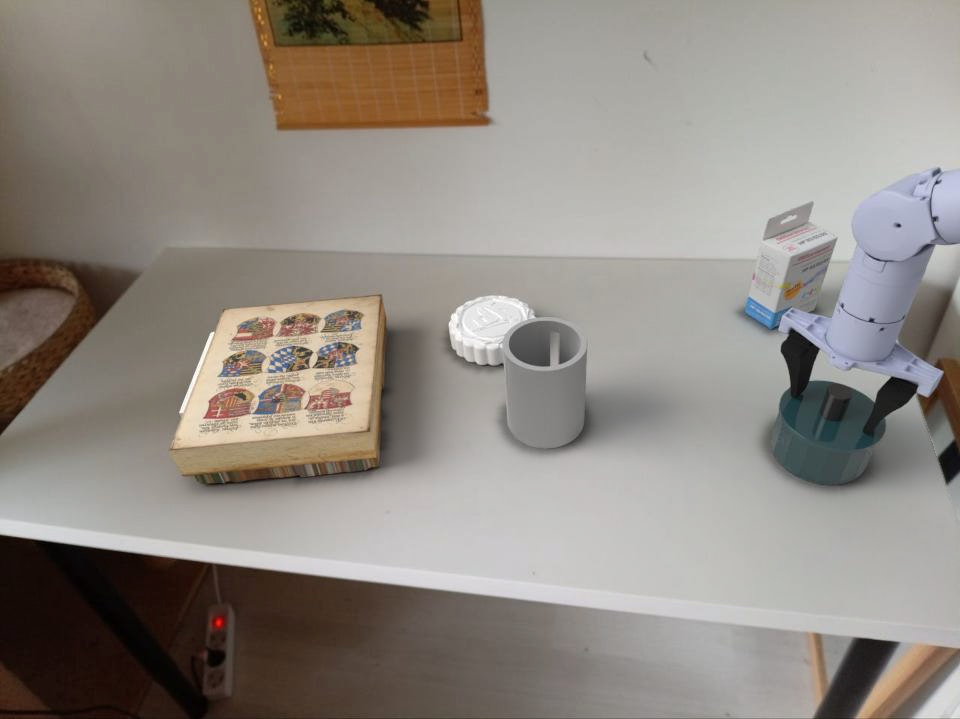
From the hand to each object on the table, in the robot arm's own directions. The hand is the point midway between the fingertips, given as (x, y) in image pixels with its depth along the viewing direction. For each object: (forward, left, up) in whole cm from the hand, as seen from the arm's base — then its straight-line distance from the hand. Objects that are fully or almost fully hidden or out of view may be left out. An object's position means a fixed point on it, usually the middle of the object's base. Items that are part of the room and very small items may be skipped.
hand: (832, 410), depth 71 cm
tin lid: (0, 0, -1) cm, 1 cm away
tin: (0, 0, -6) cm, 6 cm away
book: (+28, +57, -6) cm, 64 cm away
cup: (+14, +27, -6) cm, 31 cm away
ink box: (+24, -10, -6) cm, 26 cm away
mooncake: (+31, +29, -6) cm, 43 cm away
